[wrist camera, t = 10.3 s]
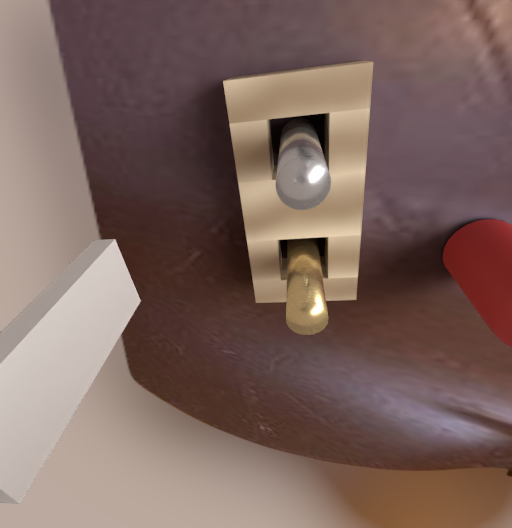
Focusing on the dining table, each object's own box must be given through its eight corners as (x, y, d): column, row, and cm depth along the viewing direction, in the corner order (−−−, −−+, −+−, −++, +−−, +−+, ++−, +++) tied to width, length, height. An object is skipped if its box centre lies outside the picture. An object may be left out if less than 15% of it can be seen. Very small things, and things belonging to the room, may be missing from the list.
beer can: (426, 263, 33) (485, 353, 23) (467, 207, 29) (558, 286, 19) (483, 281, 34) (564, 377, 24) (530, 228, 30) (650, 315, 20)
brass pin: (286, 226, 32) (284, 304, 22) (316, 224, 32) (328, 303, 22) (288, 251, 34) (287, 335, 24) (317, 250, 33) (328, 334, 23)
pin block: (231, 77, 25) (223, 81, 22) (362, 60, 24) (373, 61, 21) (259, 279, 36) (256, 302, 33) (349, 276, 35) (356, 299, 31)
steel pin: (280, 119, 27) (273, 158, 17) (316, 116, 26) (331, 154, 16) (281, 155, 28) (277, 211, 18) (316, 153, 28) (330, 208, 18)
